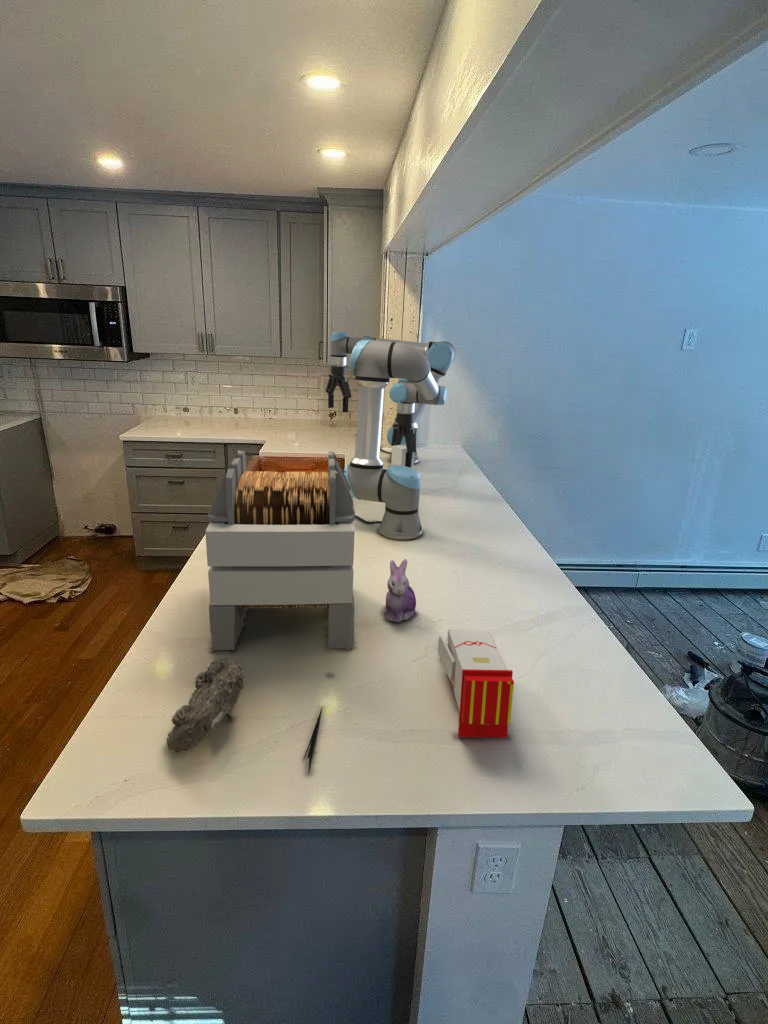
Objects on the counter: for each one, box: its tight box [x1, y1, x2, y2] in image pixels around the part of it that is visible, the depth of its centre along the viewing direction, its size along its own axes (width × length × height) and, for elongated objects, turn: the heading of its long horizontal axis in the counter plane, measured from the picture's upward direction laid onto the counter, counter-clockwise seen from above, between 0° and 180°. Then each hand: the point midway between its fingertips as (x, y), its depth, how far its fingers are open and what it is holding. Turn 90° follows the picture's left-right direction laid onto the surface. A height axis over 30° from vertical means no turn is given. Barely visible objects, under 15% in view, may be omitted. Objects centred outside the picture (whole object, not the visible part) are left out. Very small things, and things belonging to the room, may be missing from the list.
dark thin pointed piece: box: [301, 673, 332, 771], centre depth 108 cm, size 2×28×2 cm
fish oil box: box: [390, 444, 415, 470], centre depth 246 cm, size 7×7×13 cm
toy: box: [437, 628, 515, 738], centre depth 117 cm, size 12×13×30 cm
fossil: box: [166, 658, 245, 754], centre depth 106 cm, size 22×10×15 cm
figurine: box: [384, 558, 417, 623], centre depth 145 cm, size 9×10×15 cm
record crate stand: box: [204, 449, 356, 652], centre depth 138 cm, size 34×33×41 cm
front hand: (402, 465), depth 247 cm, fingers closed on fish oil box, 7 cm apart
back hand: (337, 410), depth 280 cm, fingers open, 13 cm apart
